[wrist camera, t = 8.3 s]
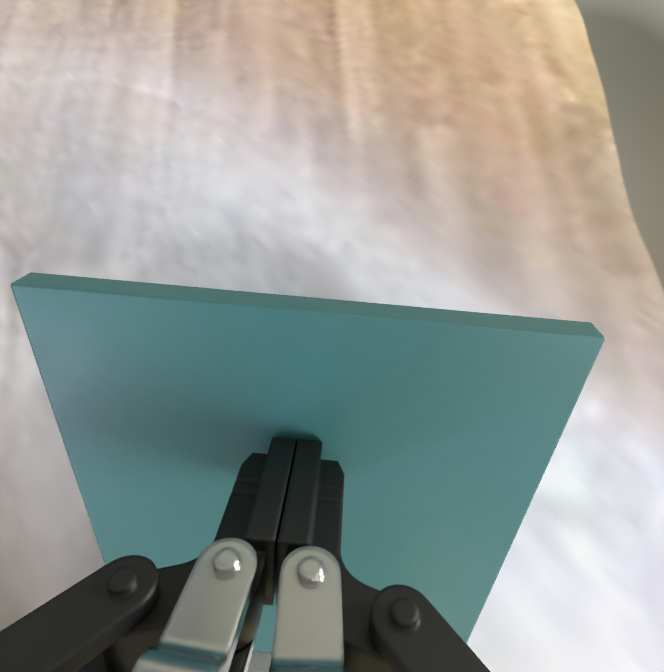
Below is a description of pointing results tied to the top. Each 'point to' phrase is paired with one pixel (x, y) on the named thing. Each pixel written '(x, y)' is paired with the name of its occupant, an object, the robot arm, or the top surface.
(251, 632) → the robot arm
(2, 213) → the top surface
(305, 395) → the lid
